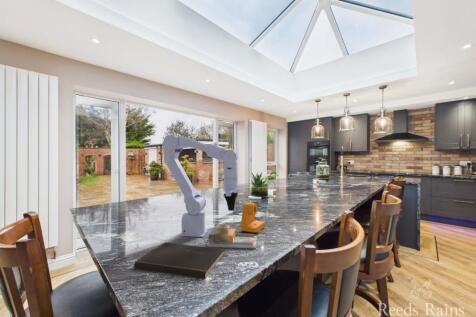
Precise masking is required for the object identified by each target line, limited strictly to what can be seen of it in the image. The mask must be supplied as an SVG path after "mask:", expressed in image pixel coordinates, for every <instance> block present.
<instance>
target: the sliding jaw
mask: <svg viewBox="0 0 476 317" xmlns="http://www.w3.org/2000/svg"><path fill="white" fill-rule="evenodd" d="M236 233H237V232H236V228H230V231H229V233H228V235H227V242H233V241H234V238H235V236H236Z"/></svg>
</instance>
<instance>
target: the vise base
mask: <svg viewBox="0 0 476 317" xmlns="http://www.w3.org/2000/svg"><path fill="white" fill-rule="evenodd" d="M215 228H216V227H213V228H212V229H211V231H210V232H209V234H208V242H207V243H206V247H210V248H231V249H232V248H234V249H235V248H237V249H239V248H240V249H256V248H257V240H258V236H257V235H255V234H254V233H237V232H236V236H235V238H234V241H233V242H227V241H215Z"/></svg>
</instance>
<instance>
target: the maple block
mask: <svg viewBox="0 0 476 317" xmlns="http://www.w3.org/2000/svg"><path fill="white" fill-rule="evenodd" d="M214 228H215V241H227V235H228V233H229V231H230V229H231V225H229V224H217V225H216V226H215V227H214Z"/></svg>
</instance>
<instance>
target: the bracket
mask: <svg viewBox="0 0 476 317" xmlns="http://www.w3.org/2000/svg"><path fill="white" fill-rule="evenodd" d="M257 214H258V205H257V203H256V202H254V203H253V202H245V203H244V204H243V207H242V213H241V221H240V231H244V232H249V233H260V232H261V231H262V230H263V229H264V228H265V221H263V220H256V218H255V216H256V215H257Z"/></svg>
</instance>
